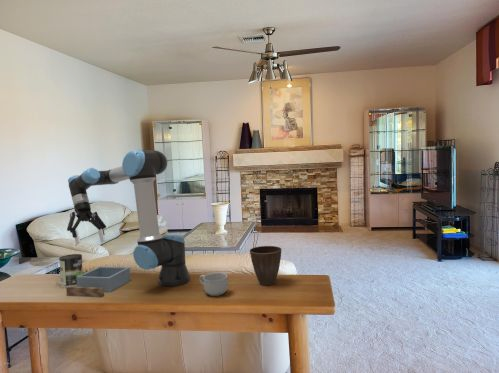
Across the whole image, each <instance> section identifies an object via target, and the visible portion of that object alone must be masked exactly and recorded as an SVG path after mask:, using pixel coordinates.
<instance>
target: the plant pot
mask: <svg viewBox="0 0 499 373" xmlns="http://www.w3.org/2000/svg"><path fill="white" fill-rule="evenodd" d="M249 255H250V259H251V263H252V268H253V270H254V273H255V276H256V278H257V280H258V282H259V283H258V284H260V285H262V286H272V285H274V284H275V283H276V282H277V278H278V275H279V270H280V264H281V260H282V258H281V257H282V248H281V247H279V246H275V245H274V246H273V245H262V246H256V247H252V248H250V249H249Z"/></svg>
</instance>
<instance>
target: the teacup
mask: <svg viewBox="0 0 499 373" xmlns="http://www.w3.org/2000/svg"><path fill="white" fill-rule="evenodd" d="M228 278H229V277H228V274H227V273H225V272H221V271H220V272H217V271H216V272H210V273H207V274H201V275H200V276H199V282H200V284H201V285H203V289H204V292H205V293H206V294H208V296H211V297H218V296H221V295H224V293H225V292H226V291H227V290H228V287H229V285H228V284H229V283H228V282H229V280H228Z"/></svg>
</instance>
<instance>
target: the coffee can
mask: <svg viewBox="0 0 499 373" xmlns="http://www.w3.org/2000/svg"><path fill="white" fill-rule="evenodd" d="M58 260H59V269H60V270H59V271H60V283H61V284H60V286H61V287H63V288H66V287H68V286H72V287H77V280H76V277H77V276H80V275H82V274H84V272H83V270H84V269H83V254H80V253H72V254H64V255H61V256H59V258H58Z"/></svg>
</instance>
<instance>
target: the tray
mask: <svg viewBox="0 0 499 373" xmlns="http://www.w3.org/2000/svg"><path fill="white" fill-rule="evenodd" d="M76 280H77V285H76V287H99V288H104V293H112V292H113V291H114V290H116V289H118V288H119V287H122V286H123V285H125V284H127V283H129V282H130V281H131V267H128V266H127V267H120V266H118V267H117V266H98V267H96V268H93V269H90V270H89V271H87V272H83V274H82V275H80V276H77V277H76ZM126 282H127V283H126Z"/></svg>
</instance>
